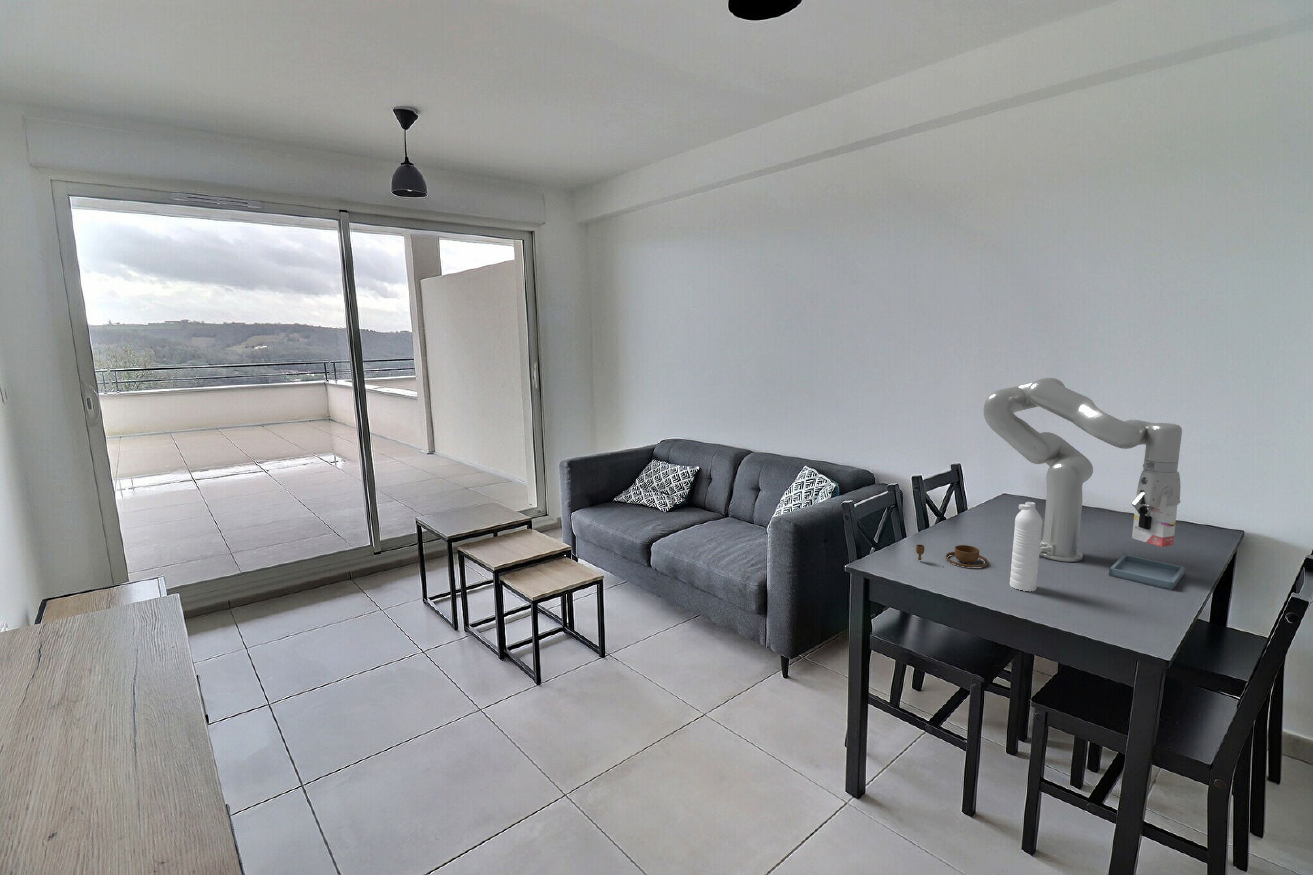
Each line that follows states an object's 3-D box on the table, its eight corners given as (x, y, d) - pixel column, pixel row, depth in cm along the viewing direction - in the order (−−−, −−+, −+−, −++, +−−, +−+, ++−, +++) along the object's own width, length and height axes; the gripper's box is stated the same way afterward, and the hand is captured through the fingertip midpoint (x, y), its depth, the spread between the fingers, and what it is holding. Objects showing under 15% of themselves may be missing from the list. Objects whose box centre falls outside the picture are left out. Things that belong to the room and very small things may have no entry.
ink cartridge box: (1174, 545, 174) (1180, 495, 172) (1161, 547, 173) (1167, 497, 170) (1142, 536, 182) (1148, 488, 180) (1130, 538, 181) (1135, 490, 178)
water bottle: (1014, 580, 177) (1022, 497, 173) (1039, 587, 172) (1047, 502, 168) (1002, 589, 172) (1009, 503, 167) (1027, 596, 167) (1035, 508, 163)
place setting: (985, 577, 182) (986, 558, 181) (913, 564, 192) (914, 547, 191) (989, 557, 197) (990, 540, 195) (922, 547, 207) (923, 530, 206)
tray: (1172, 590, 169) (1173, 583, 168) (1108, 575, 179) (1109, 568, 179) (1184, 574, 179) (1185, 567, 179) (1123, 560, 190) (1124, 554, 190)
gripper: (1146, 471, 169) (1139, 533, 172) (1199, 467, 171) (1191, 529, 174) (1122, 465, 176) (1116, 525, 179) (1173, 462, 179) (1166, 521, 182)
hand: (1153, 526), depth 177 cm, fingers closed on ink cartridge box, 5 cm apart
